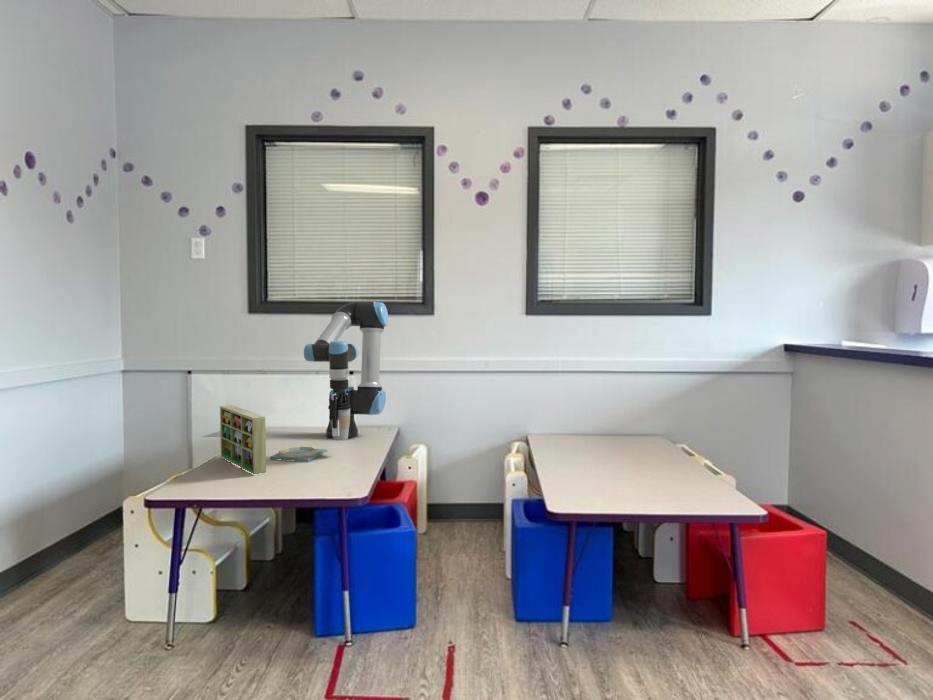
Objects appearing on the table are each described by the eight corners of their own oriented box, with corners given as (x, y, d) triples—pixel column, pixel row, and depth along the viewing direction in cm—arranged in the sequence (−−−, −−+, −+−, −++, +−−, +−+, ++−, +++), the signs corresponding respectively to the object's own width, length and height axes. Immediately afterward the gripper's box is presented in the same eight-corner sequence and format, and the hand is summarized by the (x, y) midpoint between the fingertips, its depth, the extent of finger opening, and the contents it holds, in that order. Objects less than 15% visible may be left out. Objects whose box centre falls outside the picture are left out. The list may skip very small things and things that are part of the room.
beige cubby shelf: (220, 458, 242) (219, 406, 241) (232, 456, 245) (230, 404, 244) (254, 476, 216) (252, 417, 215) (266, 474, 219) (265, 416, 218)
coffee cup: (346, 442, 240) (345, 405, 239) (325, 440, 242) (324, 404, 241) (355, 436, 249) (354, 401, 248) (334, 435, 251) (333, 400, 250)
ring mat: (290, 450, 256) (290, 444, 256) (327, 452, 253) (326, 446, 253) (269, 459, 240) (269, 453, 240) (308, 462, 236) (308, 456, 236)
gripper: (336, 382, 232) (338, 439, 234) (357, 375, 253) (358, 428, 255) (319, 382, 234) (320, 438, 236) (341, 375, 254) (342, 427, 256)
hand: (340, 433), depth 245 cm, fingers closed on coffee cup, 8 cm apart
